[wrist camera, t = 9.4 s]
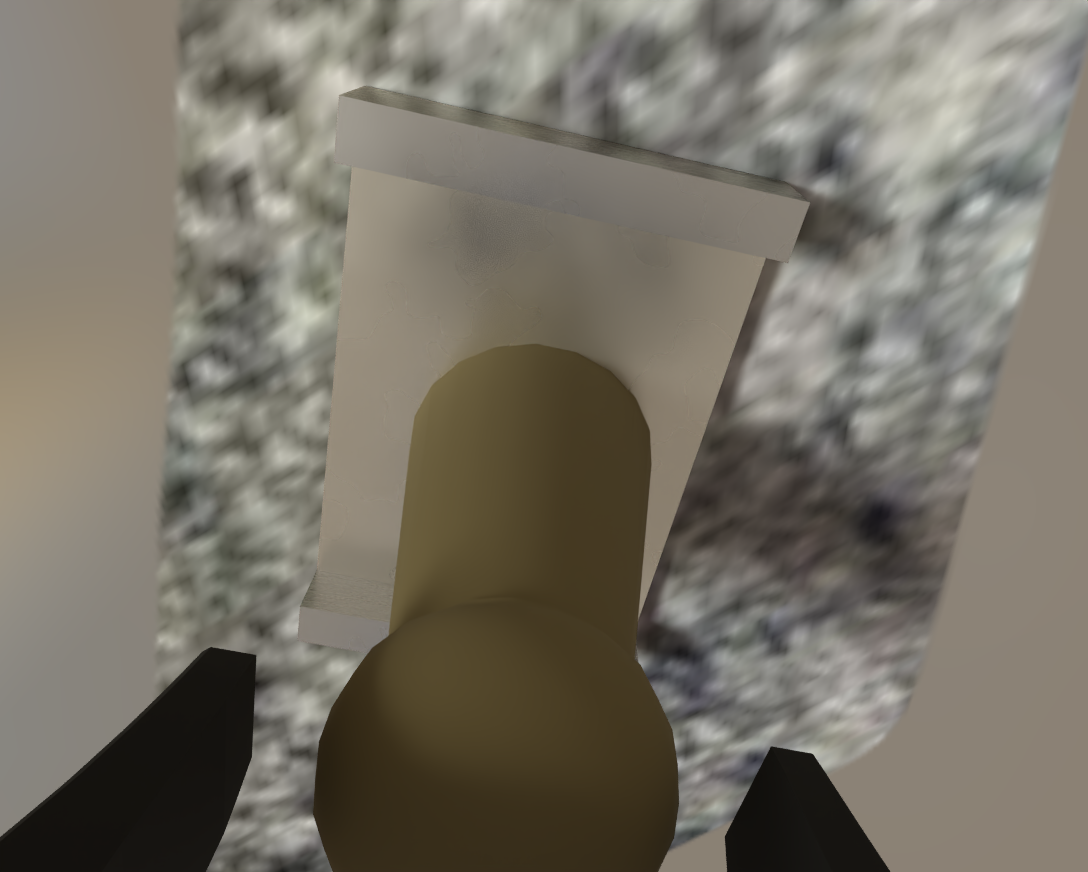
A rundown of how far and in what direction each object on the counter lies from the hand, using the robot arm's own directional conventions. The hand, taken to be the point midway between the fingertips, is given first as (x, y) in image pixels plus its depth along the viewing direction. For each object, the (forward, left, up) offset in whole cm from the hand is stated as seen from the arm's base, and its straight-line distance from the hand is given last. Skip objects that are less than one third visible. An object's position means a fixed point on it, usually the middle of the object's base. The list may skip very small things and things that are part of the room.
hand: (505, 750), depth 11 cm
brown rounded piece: (-1, 0, -10) cm, 10 cm away
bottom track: (0, 0, -10) cm, 10 cm away
